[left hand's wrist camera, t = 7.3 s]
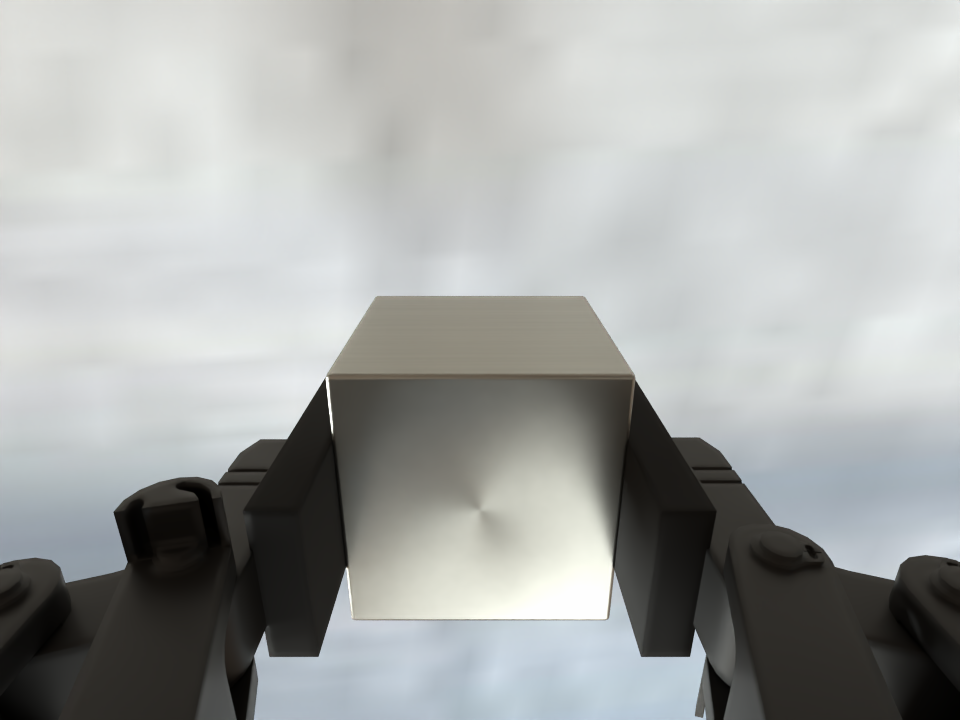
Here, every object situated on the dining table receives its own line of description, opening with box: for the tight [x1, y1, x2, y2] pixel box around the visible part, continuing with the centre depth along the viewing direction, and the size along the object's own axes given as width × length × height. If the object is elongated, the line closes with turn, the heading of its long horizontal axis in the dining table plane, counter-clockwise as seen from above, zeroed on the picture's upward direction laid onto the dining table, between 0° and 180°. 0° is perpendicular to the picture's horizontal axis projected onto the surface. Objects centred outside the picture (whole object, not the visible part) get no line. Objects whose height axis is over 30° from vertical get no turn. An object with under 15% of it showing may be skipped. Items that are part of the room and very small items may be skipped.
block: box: [326, 296, 635, 620], centre depth 12 cm, size 5×5×5 cm
